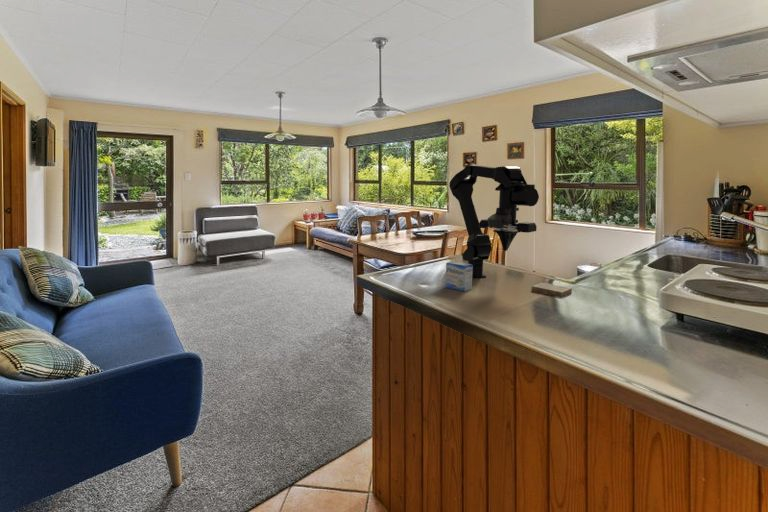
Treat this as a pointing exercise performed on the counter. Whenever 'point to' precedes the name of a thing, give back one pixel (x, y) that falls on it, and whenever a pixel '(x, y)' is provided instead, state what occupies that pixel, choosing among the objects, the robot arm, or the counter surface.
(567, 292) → the walnut tile
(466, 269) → the medicine box
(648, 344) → the counter surface
